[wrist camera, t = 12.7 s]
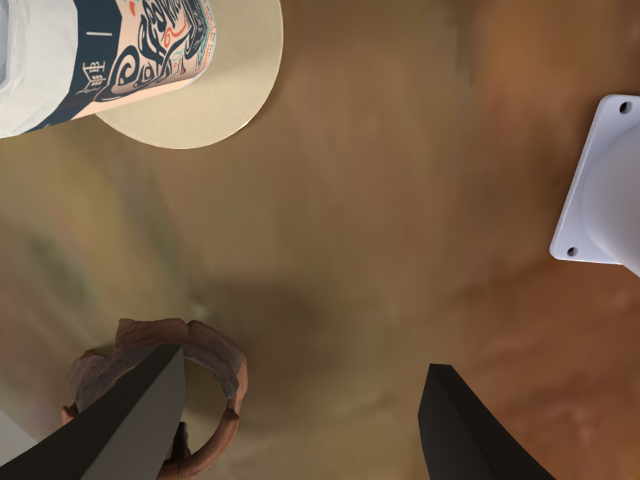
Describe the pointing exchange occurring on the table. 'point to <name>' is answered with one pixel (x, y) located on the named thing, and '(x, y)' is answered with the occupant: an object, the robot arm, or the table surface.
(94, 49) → the beer can
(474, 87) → the table surface
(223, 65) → the coaster
